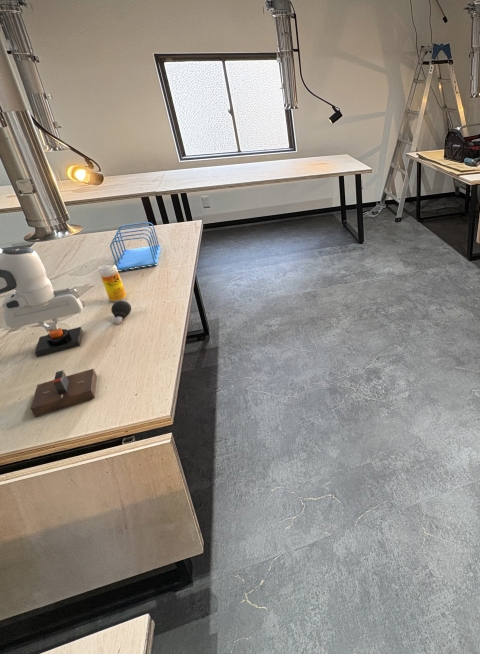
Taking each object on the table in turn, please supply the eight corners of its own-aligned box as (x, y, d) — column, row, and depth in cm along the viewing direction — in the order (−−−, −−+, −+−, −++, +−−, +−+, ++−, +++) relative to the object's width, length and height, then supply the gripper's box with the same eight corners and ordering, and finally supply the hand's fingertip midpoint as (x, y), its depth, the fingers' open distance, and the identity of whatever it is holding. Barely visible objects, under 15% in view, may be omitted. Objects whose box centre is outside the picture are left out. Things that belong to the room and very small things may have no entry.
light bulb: (105, 318, 149) (111, 297, 155) (109, 328, 153) (114, 307, 160) (126, 318, 151) (131, 297, 158) (128, 328, 155) (133, 307, 162)
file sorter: (157, 266, 198) (148, 236, 191) (116, 273, 192) (105, 242, 185) (161, 247, 219) (153, 220, 212) (124, 253, 213) (115, 225, 206)
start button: (49, 339, 139) (47, 335, 138) (51, 334, 142) (49, 330, 141) (62, 336, 140) (60, 332, 139) (64, 331, 143) (62, 327, 142)
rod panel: (34, 417, 112) (29, 408, 111) (41, 392, 121) (36, 384, 119) (94, 398, 118) (90, 389, 117) (96, 376, 127) (93, 368, 125)
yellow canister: (119, 303, 167) (107, 270, 160) (106, 302, 168) (94, 269, 161) (130, 295, 172) (118, 263, 166) (117, 294, 173) (105, 262, 167)
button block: (37, 357, 136) (32, 347, 134) (42, 342, 144) (37, 332, 142) (80, 346, 141) (76, 336, 139) (82, 331, 149) (78, 322, 147)
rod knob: (61, 382, 120) (55, 371, 118) (68, 380, 121) (63, 369, 119) (58, 394, 116) (52, 382, 114) (66, 391, 116) (60, 380, 114)
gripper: (76, 283, 140) (89, 317, 146) (0, 298, 131) (17, 333, 137) (74, 290, 135) (88, 325, 141) (-6, 306, 126) (13, 343, 133)
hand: (52, 330), depth 139 cm, fingers closed
